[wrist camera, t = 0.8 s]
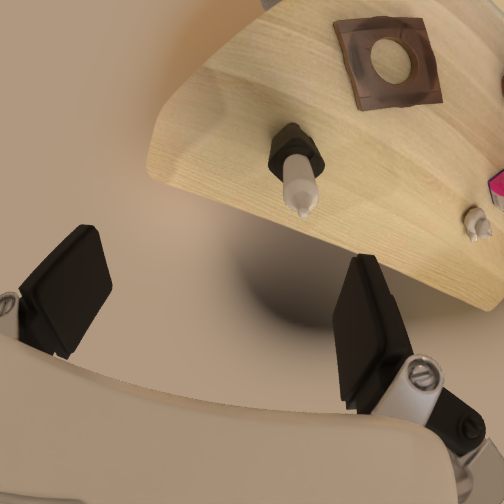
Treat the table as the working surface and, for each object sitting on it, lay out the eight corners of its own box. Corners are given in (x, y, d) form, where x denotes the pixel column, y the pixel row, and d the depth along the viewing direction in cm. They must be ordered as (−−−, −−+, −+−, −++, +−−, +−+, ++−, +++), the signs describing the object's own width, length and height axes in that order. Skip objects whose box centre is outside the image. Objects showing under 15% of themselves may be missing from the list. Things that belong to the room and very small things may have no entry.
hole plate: (330, 23, 28) (333, 19, 26) (416, 19, 25) (423, 16, 23) (357, 111, 36) (361, 113, 34) (437, 102, 32) (444, 104, 30)
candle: (268, 142, 40) (251, 213, 20) (292, 119, 38) (306, 164, 17) (292, 164, 42) (301, 258, 21) (316, 143, 39) (354, 216, 19)
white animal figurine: (483, 206, 40) (505, 226, 33) (473, 234, 44) (492, 257, 37) (465, 201, 40) (487, 221, 34) (455, 231, 44) (474, 254, 37)
